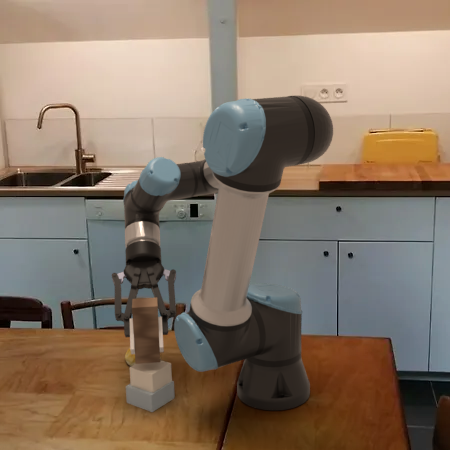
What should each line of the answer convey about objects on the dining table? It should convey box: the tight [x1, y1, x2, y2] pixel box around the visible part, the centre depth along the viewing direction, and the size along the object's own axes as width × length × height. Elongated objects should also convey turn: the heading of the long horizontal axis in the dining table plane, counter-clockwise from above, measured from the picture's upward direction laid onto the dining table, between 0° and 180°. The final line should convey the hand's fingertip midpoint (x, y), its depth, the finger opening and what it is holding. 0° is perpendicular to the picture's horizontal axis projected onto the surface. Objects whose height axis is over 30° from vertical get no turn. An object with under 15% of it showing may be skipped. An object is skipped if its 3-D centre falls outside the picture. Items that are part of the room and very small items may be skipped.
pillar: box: [132, 297, 162, 364], centre depth 142 cm, size 5×5×12 cm
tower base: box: [125, 380, 176, 413], centre depth 145 cm, size 7×7×4 cm
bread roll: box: [124, 347, 162, 367], centre depth 164 cm, size 8×9×4 cm
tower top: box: [129, 359, 173, 393], centre depth 144 cm, size 6×6×4 cm
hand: (147, 350), depth 139 cm, fingers closed on pillar, 5 cm apart
